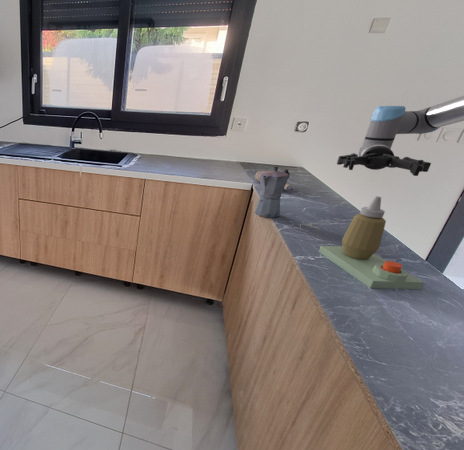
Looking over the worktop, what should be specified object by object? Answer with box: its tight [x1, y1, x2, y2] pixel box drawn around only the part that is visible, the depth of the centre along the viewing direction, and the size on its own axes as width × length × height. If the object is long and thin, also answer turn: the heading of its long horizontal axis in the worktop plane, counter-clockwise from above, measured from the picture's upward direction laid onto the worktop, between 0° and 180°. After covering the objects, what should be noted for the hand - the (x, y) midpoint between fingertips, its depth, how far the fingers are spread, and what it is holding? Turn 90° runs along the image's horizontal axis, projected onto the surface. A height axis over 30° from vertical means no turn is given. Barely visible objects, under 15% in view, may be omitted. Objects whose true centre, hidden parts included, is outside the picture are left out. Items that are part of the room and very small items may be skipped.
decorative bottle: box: [254, 169, 294, 191], centre depth 162 cm, size 26×8×7 cm, turn 179°
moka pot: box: [254, 166, 291, 219], centre depth 125 cm, size 10×15×20 cm, turn 117°
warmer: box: [318, 245, 425, 290], centre depth 88 cm, size 12×20×4 cm, turn 175°
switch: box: [382, 260, 403, 273], centre depth 80 cm, size 3×3×2 cm
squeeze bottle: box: [341, 196, 387, 259], centre depth 88 cm, size 8×8×18 cm
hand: (383, 168), depth 89 cm, fingers open, 13 cm apart
